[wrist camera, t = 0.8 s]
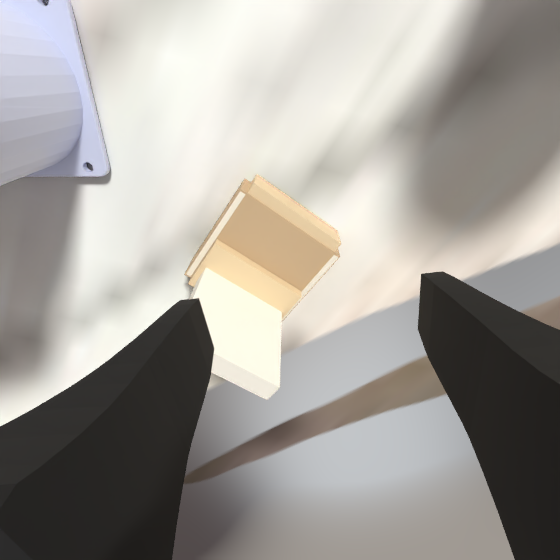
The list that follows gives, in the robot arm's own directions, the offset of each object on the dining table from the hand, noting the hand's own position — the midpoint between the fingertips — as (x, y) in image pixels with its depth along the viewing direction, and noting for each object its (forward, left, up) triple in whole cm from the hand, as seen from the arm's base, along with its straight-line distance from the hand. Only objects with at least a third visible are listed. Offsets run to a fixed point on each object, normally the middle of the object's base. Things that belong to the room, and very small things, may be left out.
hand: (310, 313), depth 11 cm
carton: (-2, -3, -10) cm, 11 cm away
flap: (-3, -4, -8) cm, 10 cm away
